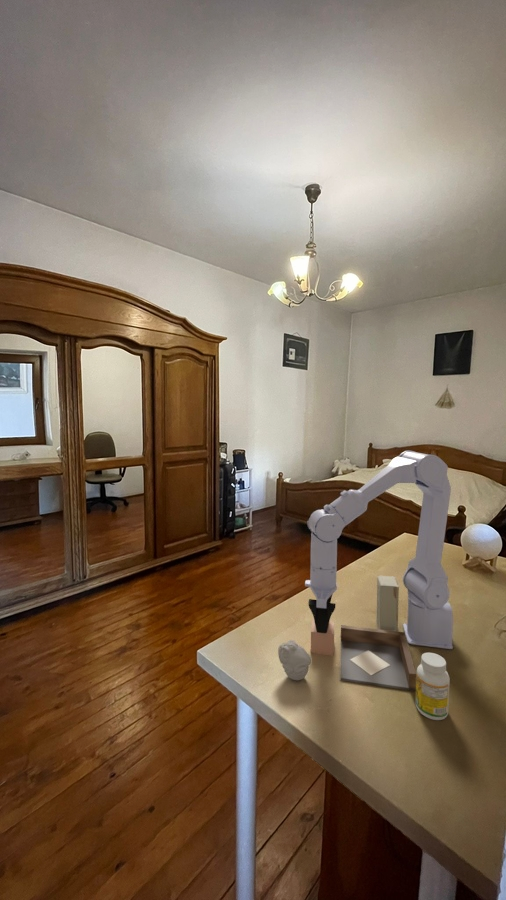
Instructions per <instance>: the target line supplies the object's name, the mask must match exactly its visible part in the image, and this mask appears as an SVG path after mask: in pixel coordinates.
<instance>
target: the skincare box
mask: <svg viewBox="0 0 506 900" xmlns="http://www.w3.org/2000/svg"><path fill="white" fill-rule="evenodd" d="M376 577H377V578H376V579H377V580H376V581H377V582H376V583H377V584H376V586H377V587H376V625H377V629H380V630H389V631H397V632H399V598H400V597H399V595H400V594H399V593H400V591H399V588H400V586H399V582H398V581H397V579H396V577H395V576H392V575H391V576H389V575H377V576H376Z"/></svg>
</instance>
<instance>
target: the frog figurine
mask: <svg viewBox="0 0 506 900" xmlns="http://www.w3.org/2000/svg"><path fill="white" fill-rule="evenodd" d="M277 651H278V652H277V654H278V660H279V662H280V664H282V668H283V671H284V673H285V675H286V676H287V677H288V678H289V679H291V680H293V681H301V680H303V679H304V678H306V676H307V675H308V672H309V670H310V669H309V667H310V665H312V657H311V655H310V654H309V653H308V652H307V650H306V649H305V648H304V647H303V646H301V645H300V644H298V643H297V642H296V640H293V639H290V640H287V642H284V643H281V644H280V645H279V646H278V649H277Z"/></svg>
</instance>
